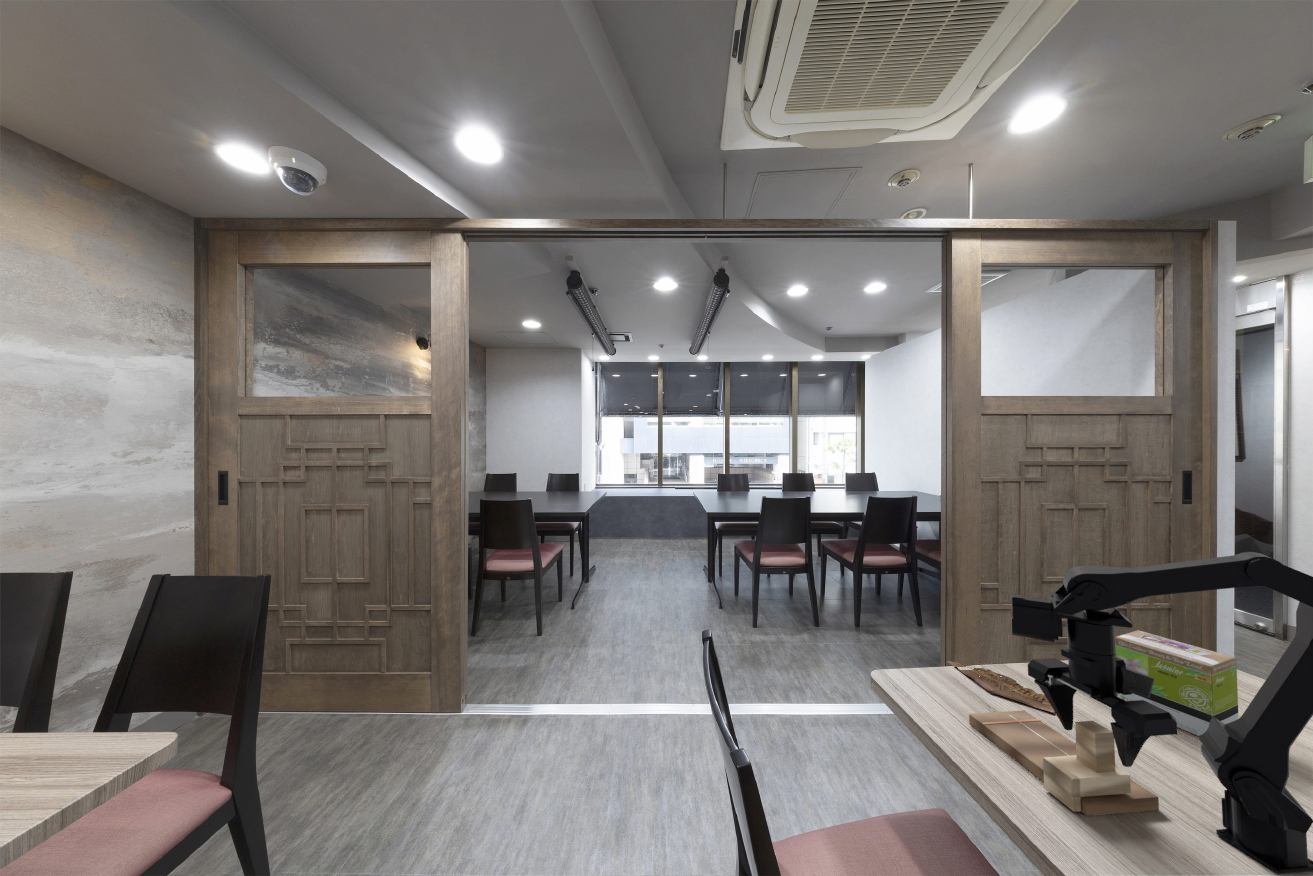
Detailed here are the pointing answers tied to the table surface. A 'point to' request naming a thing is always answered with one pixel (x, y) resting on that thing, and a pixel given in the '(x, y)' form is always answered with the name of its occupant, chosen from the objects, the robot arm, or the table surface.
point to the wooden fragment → (1006, 687)
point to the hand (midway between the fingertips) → (1095, 746)
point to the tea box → (1183, 679)
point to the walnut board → (1038, 740)
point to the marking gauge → (1086, 768)
